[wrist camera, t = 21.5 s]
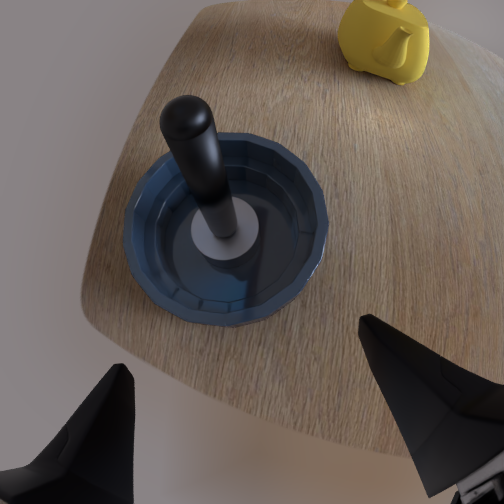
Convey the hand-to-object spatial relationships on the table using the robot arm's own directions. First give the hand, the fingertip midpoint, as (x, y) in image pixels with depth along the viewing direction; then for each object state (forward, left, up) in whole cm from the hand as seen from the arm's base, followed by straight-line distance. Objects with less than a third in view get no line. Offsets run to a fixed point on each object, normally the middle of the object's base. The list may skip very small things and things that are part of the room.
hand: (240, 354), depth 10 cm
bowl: (+6, +5, -10) cm, 12 cm away
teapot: (+34, -1, -10) cm, 35 cm away
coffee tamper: (+6, +5, -9) cm, 12 cm away
